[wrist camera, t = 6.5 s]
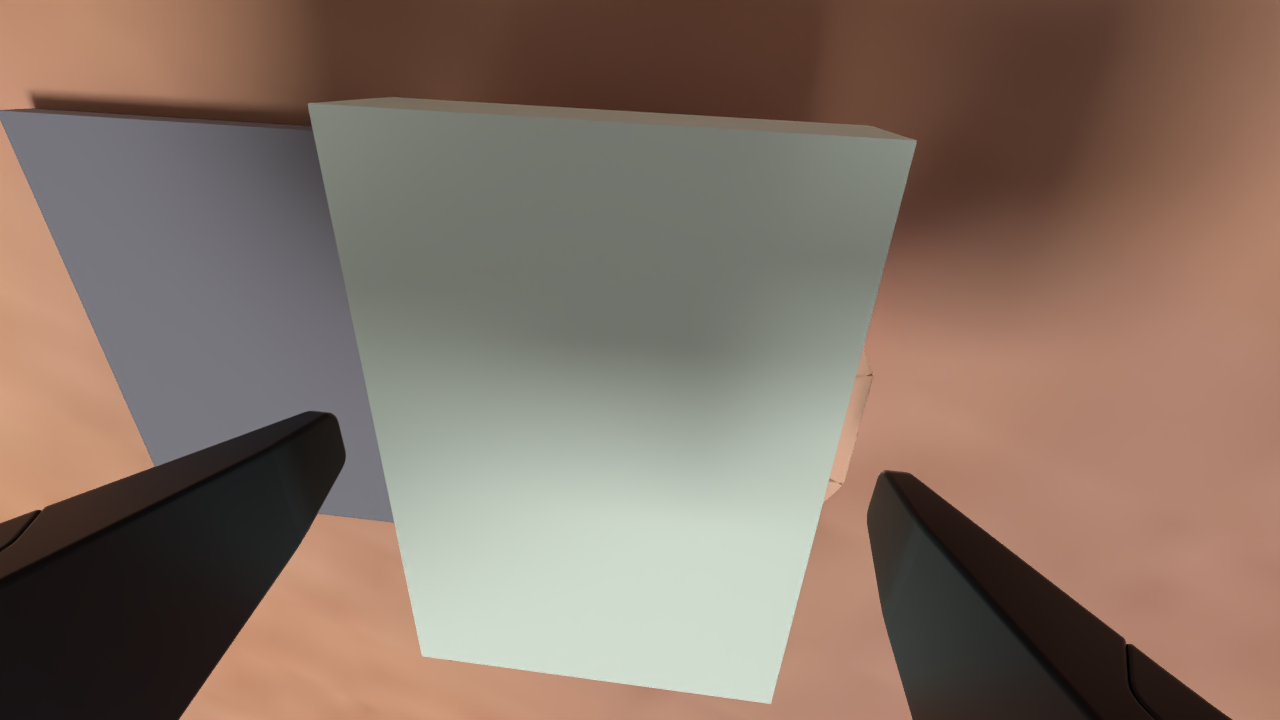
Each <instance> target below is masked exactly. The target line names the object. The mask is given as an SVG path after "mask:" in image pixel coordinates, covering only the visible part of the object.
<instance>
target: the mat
mask: <svg viewBox="0 0 1280 720" xmlns="http://www.w3.org/2000/svg"><path fill="white" fill-rule="evenodd" d="M0 120H1V123H2V125H3V127H4V129H5V132H6V134H7V136H8V138H9V141H10V143H11V145H12V147H13V150H14V152H15V154H16V156H17V159H18V161H19V163H20V165H21V168H22V170H23V172H24V174H25V176H26V179H27V181H28V183H29V185H30V188H31V190H32V192H33V194H34V197H35V199H36V201H37V203H38V206H39V208H40V210H41V212H42V215H43V217H44V219H45V221H46V224H47V226H48V228H49V230H50V233H51V235H52V237H53V239H54V242H55V244H56V246H57V248H58V251H59V253H60V255H61V257H62V260H63V262H64V264H65V266H66V269H67V271H68V273H69V275H70V277H71V280H72V282H73V284H74V286H75V289H76V291H77V293H78V295H79V298H80V300H81V302H82V304H83V307H84V309H85V311H86V313H87V316H88V318H89V320H90V322H91V325H92V327H93V329H94V331H95V334H96V336H97V338H98V340H99V343H100V345H101V347H102V349H103V352H104V354H105V356H106V358H107V361H108V363H109V365H110V367H111V370H112V372H113V374H114V376H115V378H116V381H117V383H118V385H119V387H120V390H121V392H122V394H123V396H124V399H125V401H126V403H127V405H128V408H129V410H130V412H131V414H132V417H133V419H134V421H135V423H136V426H137V428H138V430H139V432H140V435H141V437H142V439H143V441H144V444H145V446H146V448H147V450H148V453H149V455H150V457H151V459H152V462H153V464H154V466H155V467H156V466H159V465H161V464H164V463H167V462H170V461H172V460H175V459H178V458H180V457H183V456H186V455H189V454H191V453H194V452H197V451H200V450H202V449H205V448H208V447H211V446H213V445H216V444H219V443H221V442H224V441H227V440H230V439H232V438H235V437H238V436H241V435H243V434H246V433H249V432H251V431H254V430H257V429H260V428H262V427H265V426H268V425H271V424H273V423H276V422H279V421H282V420H284V419H287V418H290V417H292V416H295V415H298V414H301V413H303V412H306V411H320V412H329V413H332V414H334V415H335V416H336V417H337V419H338V421H339V426H340V430H341V434H342V438H343V442H344V446H345V450H346V460H345V464H344V466H343V469H342V470H341V472H340V474H339V476H338V478H337V479H336V481H335V483H334V485H333V487H332V488H331V490H330V492H329V494H328V496H327V498H326V499H325V501H324V503H323V505H322V507H321V508H320V510H319V512H318V514H325V515H334V516H342V517H351V518H359V519H368V520H376V521H385V522H393V523H394V519H393V514H392V509H391V505H390V500H389V495H388V490H387V485H386V480H385V476H384V471H383V466H382V461H381V456H380V452H379V447H378V442H377V437H376V432H375V427H374V423H373V418H372V413H371V408H370V403H369V399H368V394H367V389H366V384H365V379H364V374H363V370H362V365H361V360H360V355H359V350H358V346H357V341H356V336H355V331H354V326H353V321H352V317H351V312H350V307H349V302H348V297H347V293H346V288H345V283H344V278H343V273H342V269H341V264H340V259H339V254H338V249H337V244H336V240H335V235H334V230H333V225H332V220H331V216H330V211H329V206H328V201H327V196H326V191H325V187H324V182H323V177H322V172H321V167H320V163H319V158H318V153H317V148H316V143H315V138H314V134H313V129H312V126H302V125H286V124H270V123H255V122H239V121H223V120H207V119H191V118H176V117H160V116H144V115H128V114H112V113H97V112H81V111H65V110H49V109H34V108H33V109H14V110H0Z"/></svg>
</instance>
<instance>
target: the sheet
mask: <svg viewBox="0 0 1280 720" xmlns="http://www.w3.org/2000/svg"><path fill="white" fill-rule="evenodd" d="M307 105H308V110H309V114H310V119H311V124H312V129H313V134H314V138H315V143H316V148H317V153H318V158H319V163H320V167H321V172H322V177H323V182H324V187H325V191H326V196H327V201H328V206H329V211H330V216H331V220H332V225H333V230H334V235H335V240H336V244H337V249H338V254H339V259H340V264H341V269H342V273H343V278H344V283H345V288H346V293H347V297H348V302H349V307H350V312H351V317H352V321H353V326H354V331H355V336H356V341H357V346H358V350H359V355H360V360H361V365H362V370H363V374H364V379H365V384H366V389H367V394H368V399H369V403H370V408H371V413H372V418H373V423H374V427H375V432H376V437H377V442H378V447H379V452H380V456H381V461H382V466H383V471H384V476H385V480H386V485H387V490H388V495H389V500H390V505H391V509H392V514H393V519H394V524H395V529H396V533H397V538H398V543H399V548H400V553H401V558H402V562H403V567H404V572H405V577H406V582H407V586H408V591H409V596H410V601H411V606H412V611H413V615H414V620H415V625H416V630H417V635H418V639H419V644H420V649H421V654H422V656H425V657H432V658H439V659H447V660H454V661H461V662H469V663H476V664H483V665H491V666H498V667H505V668H513V669H520V670H527V671H534V672H542V673H549V674H556V675H564V676H571V677H578V678H586V679H593V680H600V681H607V682H615V683H622V684H629V685H637V686H644V687H651V688H659V689H666V690H673V691H680V692H688V693H695V694H702V695H710V696H717V697H724V698H732V699H739V700H746V701H754V702H761V703H768V704H771V701H772V697H773V693H774V689H775V686H776V682H777V678H778V674H779V670H780V666H781V662H782V659H783V655H784V651H785V647H786V643H787V639H788V636H789V632H790V628H791V624H792V620H793V616H794V612H795V609H796V605H797V601H798V597H799V593H800V589H801V585H802V582H803V578H804V574H805V570H806V566H807V562H808V559H809V555H810V551H811V547H812V543H813V539H814V535H815V532H816V528H817V524H818V520H819V516H820V512H821V509H822V505H823V501H824V497H825V493H826V489H827V485H828V482H829V478H830V474H831V470H832V466H833V462H834V459H835V455H836V451H837V447H838V443H839V439H840V435H841V432H842V428H843V424H844V420H845V416H846V412H847V409H848V405H849V401H850V397H851V393H852V389H853V385H854V382H855V378H856V374H857V370H858V366H859V362H860V358H861V355H862V351H863V347H864V343H865V339H866V335H867V332H868V328H869V324H870V320H871V316H872V312H873V308H874V305H875V301H876V297H877V293H878V289H879V285H880V282H881V278H882V274H883V270H884V266H885V262H886V258H887V255H888V251H889V247H890V243H891V239H892V235H893V232H894V228H895V224H896V220H897V216H898V212H899V208H900V205H901V201H902V197H903V193H904V189H905V185H906V182H907V178H908V174H909V170H910V166H911V162H912V158H913V155H914V151H915V147H916V143H917V140H914V139H911V138H908V137H905V136H902V135H898V134H895V133H892V132H889V131H886V130H883V129H880V128H877V127H874V126H869V125H852V124H836V123H819V122H802V121H785V120H769V119H752V118H735V117H718V116H702V115H685V114H668V113H651V112H635V111H618V110H601V109H584V108H568V107H551V106H534V105H517V104H501V103H484V102H467V101H450V100H434V99H417V98H400V97H382V98H369V99H356V100H343V101H330V102H316V103H307Z"/></svg>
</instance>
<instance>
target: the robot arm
mask: <svg viewBox="0 0 1280 720" xmlns="http://www.w3.org/2000/svg"><path fill="white" fill-rule="evenodd" d="M345 460H346V450H345V446H344V442H343V438H342V434H341V430H340V426H339V421H338V419H337V417H336V416H335V415H334V414H332V413H329V412H320V411H306V412H303V413H301V414H298V415H295V416H292V417H290V418H287V419H284V420H282V421H279V422H276V423H273V424H271V425H268V426H265V427H262V428H260V429H257V430H254V431H251V432H249V433H246V434H243V435H241V436H238V437H235V438H232V439H230V440H227V441H224V442H221V443H219V444H216V445H213V446H211V447H208V448H205V449H202V450H200V451H197V452H194V453H191V454H189V455H186V456H183V457H180V458H178V459H175V460H172V461H170V462H167V463H164V464H161V465H159V466H156V467H153V468H150V469H148V470H145V471H142V472H140V473H137V474H134V475H131V476H129V477H126V478H123V479H120V480H118V481H115V482H112V483H109V484H107V485H104V486H101V487H99V488H96V489H93V490H90V491H88V492H85V493H82V494H79V495H77V496H74V497H71V498H69V499H66V500H63V501H60V502H58V503H55V504H52V505H49V506H47V507H45V508H44V509H43V510H42V511H41V510H35V511H33V512H30V513H27V514H24V515H22V516H19V517H16V518H14V519H11V520H8V521H5V522H3V523H0V720H179V719H180V717H181V716H182V714H183V713H184V711H185V710H186V709H187V707H188V706H189V704H190V703H191V701H192V700H193V698H194V697H195V696H196V694H197V693H198V691H199V690H200V688H201V687H202V686H203V684H204V683H205V681H206V680H207V678H208V677H209V675H210V674H211V673H212V671H213V670H214V668H215V667H216V665H217V664H218V662H219V661H220V660H221V658H222V657H223V655H224V654H225V652H226V651H227V649H228V648H229V647H230V645H231V644H232V642H233V641H234V639H235V638H236V636H237V635H238V634H239V632H240V631H241V629H242V628H243V626H244V625H245V623H246V622H247V621H248V619H249V618H250V616H251V615H252V613H253V612H254V610H255V609H256V608H257V606H258V605H259V603H260V602H261V600H262V599H263V598H264V596H265V595H266V593H267V592H268V590H269V589H270V587H271V586H272V585H273V583H274V582H275V580H276V579H277V577H278V576H279V574H280V573H281V572H282V570H283V569H284V567H285V566H286V564H287V563H288V561H289V560H290V559H291V557H292V556H293V554H294V553H295V551H296V550H297V548H298V547H299V545H300V543H301V542H302V540H303V538H304V537H305V535H306V533H307V532H308V530H309V528H310V526H311V525H312V523H313V521H314V519H315V517H316V516H317V514H318V512H319V510H320V508H321V507H322V505H323V503H324V501H325V499H326V498H327V496H328V494H329V492H330V490H331V488H332V487H333V485H334V483H335V481H336V479H337V478H338V476H339V474H340V472H341V470H342V469H343V466H344V464H345ZM867 526H868V532H869V538H870V544H871V550H872V556H873V562H874V568H875V574H876V580H877V586H878V592H879V598H880V603H881V608H882V613H883V617H884V621H885V625H886V629H887V632H888V636H889V639H890V643H891V646H892V650H893V653H894V657H895V660H896V664H897V667H898V670H899V674H900V677H901V681H902V684H903V688H904V691H905V695H906V698H907V701H908V705H909V708H910V712H911V715H912V719H913V720H1232V719H1231V718H1229V717H1228V716H1226V715H1225V714H1224V713H1222V712H1221V711H1219V710H1218V709H1217V708H1215V707H1214V706H1213V705H1211V704H1210V703H1209V702H1207V701H1206V700H1205V699H1203V698H1202V697H1201V696H1199V695H1198V694H1197V693H1195V692H1194V691H1193V690H1191V689H1190V688H1189V687H1187V686H1186V685H1185V684H1183V683H1182V682H1181V681H1179V680H1178V679H1177V678H1175V677H1174V676H1173V675H1171V674H1170V673H1169V672H1167V671H1166V670H1165V669H1163V668H1162V667H1161V666H1159V665H1158V664H1157V663H1156V662H1154V661H1153V660H1152V659H1150V658H1149V657H1148V656H1146V655H1145V654H1144V653H1143V652H1141V651H1140V650H1139V649H1137V648H1136V647H1135V646H1134V645H1132V644H1126V641H1125V639H1124V638H1123V637H1122V636H1120V635H1119V634H1118V633H1116V632H1115V631H1114V630H1113V629H1111V628H1110V627H1109V626H1107V625H1106V624H1105V623H1104V622H1102V621H1101V620H1100V619H1098V618H1097V617H1096V616H1094V615H1093V614H1092V613H1091V612H1089V611H1088V610H1087V609H1085V608H1084V607H1083V606H1082V605H1080V604H1079V603H1078V602H1076V601H1075V600H1074V599H1072V598H1071V597H1070V596H1069V595H1067V594H1066V593H1065V592H1063V591H1062V590H1061V589H1060V588H1058V587H1057V586H1056V585H1054V584H1053V583H1052V582H1050V581H1049V580H1048V579H1047V578H1045V577H1044V576H1043V575H1041V574H1040V573H1039V572H1037V571H1036V570H1035V569H1034V568H1032V567H1031V566H1030V565H1028V564H1027V563H1026V562H1025V561H1023V560H1022V559H1021V558H1019V557H1018V556H1017V555H1015V554H1014V553H1013V552H1012V551H1010V550H1009V549H1008V548H1006V547H1005V546H1004V545H1003V544H1001V543H1000V542H999V541H997V540H996V539H995V538H993V537H992V536H991V535H990V534H988V533H987V532H986V531H984V530H983V529H982V528H981V527H979V526H978V525H977V524H975V523H974V522H973V521H971V520H970V519H969V518H968V517H966V516H965V515H964V514H962V513H961V512H960V511H959V510H957V509H956V508H955V507H953V506H952V505H951V504H949V503H948V502H947V501H946V500H944V499H943V498H942V497H940V496H939V495H938V494H936V493H935V492H934V491H933V490H931V489H930V488H929V487H927V486H926V485H925V484H924V483H922V482H921V481H920V480H918V479H917V478H916V477H914V476H913V475H912V474H910V473H907V472H898V471H889V470H885V471H883V472H881V473H880V475H879V476H878V479H877V482H876V485H875V488H874V492H873V495H872V498H871V501H870V505H869V508H868V512H867Z"/></svg>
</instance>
